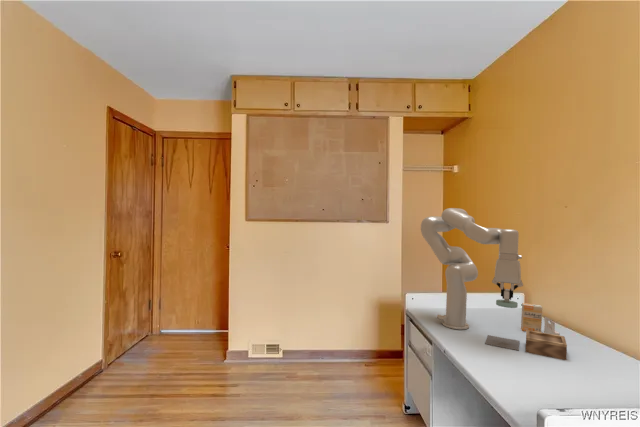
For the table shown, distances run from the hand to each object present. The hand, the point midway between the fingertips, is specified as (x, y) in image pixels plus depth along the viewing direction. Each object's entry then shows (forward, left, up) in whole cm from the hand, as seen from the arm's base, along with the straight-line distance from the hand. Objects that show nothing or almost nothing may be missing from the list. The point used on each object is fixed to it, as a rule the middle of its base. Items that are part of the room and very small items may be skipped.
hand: (506, 298), depth 157 cm
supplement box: (+10, +28, -20) cm, 36 cm away
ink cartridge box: (+18, +18, -20) cm, 33 cm away
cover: (0, 0, -3) cm, 3 cm away
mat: (-1, 0, -20) cm, 20 cm away
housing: (+15, 0, -20) cm, 25 cm away
